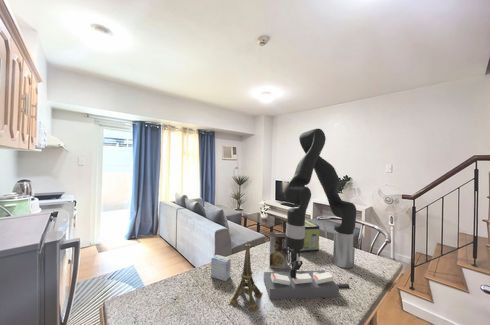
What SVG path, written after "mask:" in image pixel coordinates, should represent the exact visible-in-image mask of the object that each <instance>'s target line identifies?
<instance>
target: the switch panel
mask: <svg viewBox="0 0 490 325" xmlns="http://www.w3.org/2000/svg"><path fill="white" fill-rule="evenodd" d="M325 272H326V271H325V270H296V274H305V273H308V274H309V275H310V276H311V278H312V282H308V283H300V284H295V283H294V281H293V279H292V278H291V277H290V270H287V271H264V272H263V283H264V286H265V290H266V292H267V296H268V298H269V300H291V299H292V300H293V299H295V300H296V299H314V298H315V299H317V298H318V299H319V298H339V297H340V296H339V294H340V293H339V292H340V288H350V284H349V283H336V282H335V281H334V280H333V281H329V282H325V283H320V284H317V283H316V282H315V281H314V279H313V275H316V274H321V273H325ZM271 273H273V274H279V275H285V276H288V278H289V279H290V285H286V284H280V283H274V282H272V279H271Z"/></svg>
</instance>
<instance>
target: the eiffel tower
mask: <svg viewBox="0 0 490 325" xmlns="http://www.w3.org/2000/svg"><path fill="white" fill-rule="evenodd" d="M251 248H252V246H251V244H250V243H249V242H247V243H245V246H244V249H245V252H244V255H245V256H244V262H243V268H242V273H241V275H240V277H241V280H240V283H239V284H238V286H237V287H236V289H235V291H234V292H235V293H234V296H233V297H232V298H231V299H230V300H229V302H228V304H229V303H230V305H229V306H231V305H234V306H233V307H236V306H237V303H239V302H238V298H239V297H240V296H241V294H246V295H248V298H249V299H248V301H249V306H248V311H251V312H255V313H256V312H257V310H258V308H259V305H258V304H257V303H256V300H255V298H254V297H257V298H262V296H263V292H261V290H260V289H259V288H258V286H257V285H256V284H255V283H256V281H254V279H253V274H254V273H253V272H254V271H253V270H252V265H251V251H250V249H251ZM253 295H254V296H253Z"/></svg>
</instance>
